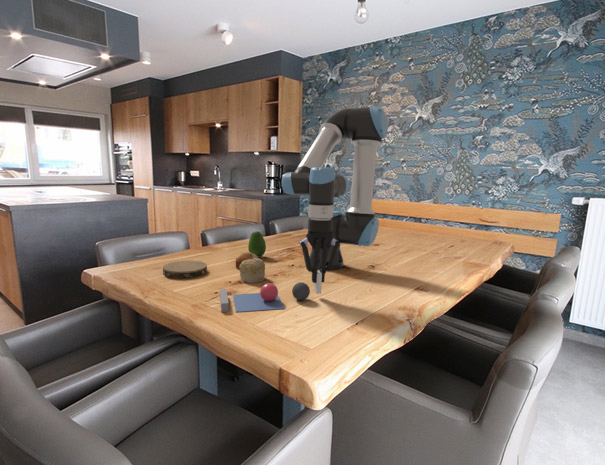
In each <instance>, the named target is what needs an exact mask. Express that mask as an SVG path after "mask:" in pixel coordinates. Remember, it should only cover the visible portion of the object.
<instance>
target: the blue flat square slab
mask: <svg viewBox="0 0 605 465" xmlns="http://www.w3.org/2000/svg"><path fill="white" fill-rule="evenodd" d="M232 298H233V299H232V300H233V303H234V307H235V313H243V312H244V313H246V312H248V313H249V312H259V311H271V310H272V311H273V310H274V311H276V310H285V309H286V307H285V305H284V303H283V302H282V300H281V298H280V296H279V294H278V295H277V297H276V299H275V300H273V301H270V302H268V301H265V300H263V299H262V298H261V296H260V292H254V293H253V292H251V293H238V294H237V293H235V294H232Z"/></svg>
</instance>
